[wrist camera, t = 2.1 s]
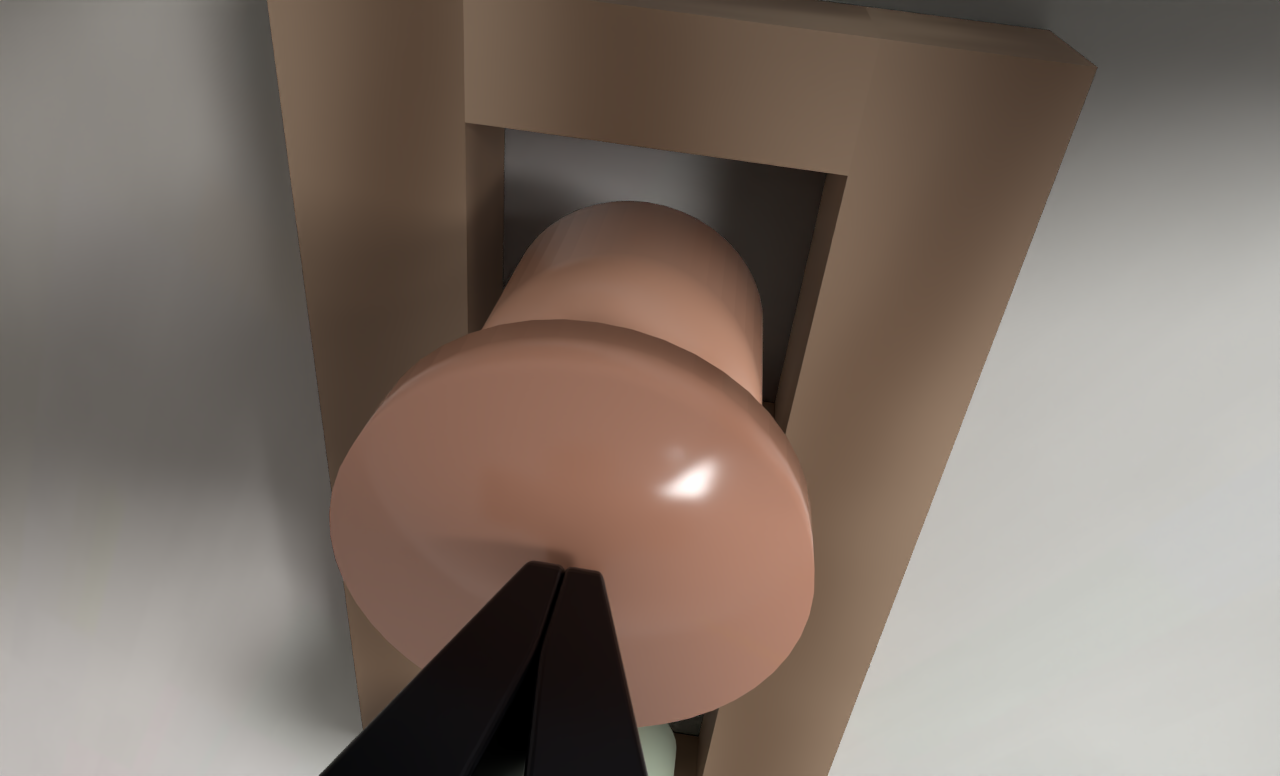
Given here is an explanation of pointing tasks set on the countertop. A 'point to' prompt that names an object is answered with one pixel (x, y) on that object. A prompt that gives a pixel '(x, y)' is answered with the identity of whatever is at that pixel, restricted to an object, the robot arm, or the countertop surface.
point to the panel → (710, 126)
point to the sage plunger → (658, 749)
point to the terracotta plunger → (595, 463)
